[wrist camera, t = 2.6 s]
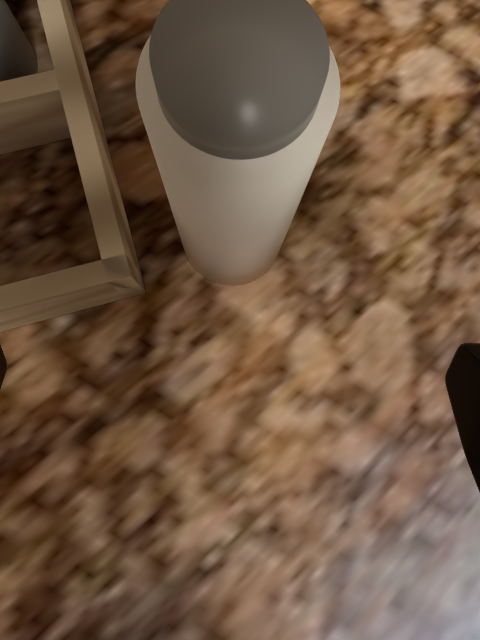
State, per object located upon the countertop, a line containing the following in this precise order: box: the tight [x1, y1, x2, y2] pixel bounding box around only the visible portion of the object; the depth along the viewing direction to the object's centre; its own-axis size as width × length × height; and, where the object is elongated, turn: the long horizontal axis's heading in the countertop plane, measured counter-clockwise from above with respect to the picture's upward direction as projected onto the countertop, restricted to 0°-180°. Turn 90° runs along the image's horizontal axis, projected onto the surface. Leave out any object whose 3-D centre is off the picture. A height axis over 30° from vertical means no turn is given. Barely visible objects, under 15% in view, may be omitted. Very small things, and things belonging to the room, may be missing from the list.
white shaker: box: [135, 0, 340, 285], centre depth 16 cm, size 5×5×12 cm
